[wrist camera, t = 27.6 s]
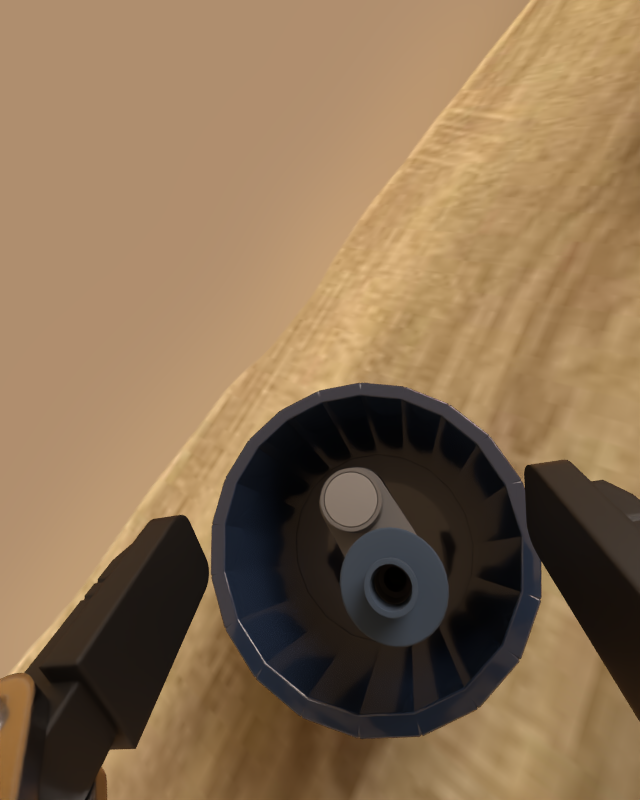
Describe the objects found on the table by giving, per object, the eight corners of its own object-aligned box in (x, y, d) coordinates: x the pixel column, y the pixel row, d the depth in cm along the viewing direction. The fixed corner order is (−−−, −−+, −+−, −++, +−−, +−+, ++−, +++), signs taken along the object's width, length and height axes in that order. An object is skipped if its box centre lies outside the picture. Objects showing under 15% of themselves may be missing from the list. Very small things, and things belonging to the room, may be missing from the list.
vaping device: (393, 607, 17) (368, 696, 6) (338, 509, 20) (251, 453, 9) (439, 578, 17) (490, 618, 7) (378, 483, 20) (342, 397, 9)
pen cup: (452, 436, 20) (481, 358, 12) (508, 643, 16) (607, 731, 8) (285, 464, 22) (212, 411, 14) (298, 659, 18) (207, 745, 10)
